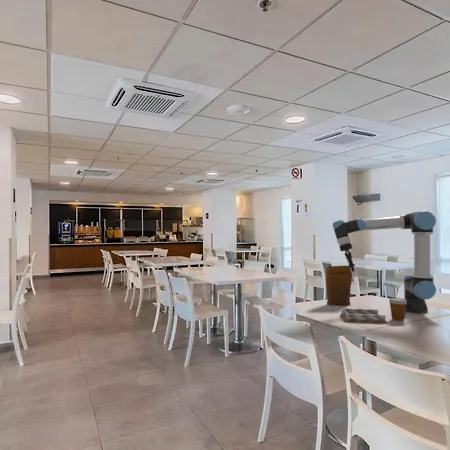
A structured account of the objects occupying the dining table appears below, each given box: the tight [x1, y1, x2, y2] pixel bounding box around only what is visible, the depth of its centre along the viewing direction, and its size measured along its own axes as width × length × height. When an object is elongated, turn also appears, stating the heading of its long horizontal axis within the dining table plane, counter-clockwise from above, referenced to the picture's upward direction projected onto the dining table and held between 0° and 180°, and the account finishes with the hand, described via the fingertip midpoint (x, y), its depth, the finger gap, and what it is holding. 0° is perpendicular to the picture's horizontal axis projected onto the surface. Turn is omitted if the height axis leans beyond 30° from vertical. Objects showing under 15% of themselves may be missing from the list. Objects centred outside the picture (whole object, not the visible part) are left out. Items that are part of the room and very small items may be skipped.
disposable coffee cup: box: [388, 297, 407, 322], centre depth 202 cm, size 10×10×12 cm
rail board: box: [340, 307, 388, 324], centre depth 203 cm, size 22×17×4 cm
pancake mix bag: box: [325, 265, 353, 307], centre depth 242 cm, size 7×19×28 cm, turn 83°
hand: (355, 276), depth 216 cm, fingers open, 13 cm apart
